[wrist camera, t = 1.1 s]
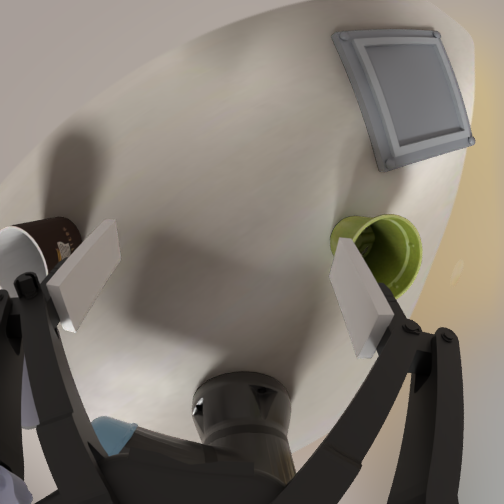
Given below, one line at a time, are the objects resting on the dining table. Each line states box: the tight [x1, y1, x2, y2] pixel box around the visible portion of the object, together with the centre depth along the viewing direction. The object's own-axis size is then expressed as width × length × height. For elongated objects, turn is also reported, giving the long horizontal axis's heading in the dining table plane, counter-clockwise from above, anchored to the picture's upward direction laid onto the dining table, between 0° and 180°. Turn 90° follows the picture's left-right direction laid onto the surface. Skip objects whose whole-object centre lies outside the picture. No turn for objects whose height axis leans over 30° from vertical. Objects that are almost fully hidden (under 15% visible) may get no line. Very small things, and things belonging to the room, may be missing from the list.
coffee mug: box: [0, 217, 82, 298], centre depth 26 cm, size 12×9×10 cm
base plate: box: [331, 29, 475, 172], centre depth 28 cm, size 18×18×2 cm
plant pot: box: [330, 214, 422, 299], centre depth 30 cm, size 9×9×9 cm
